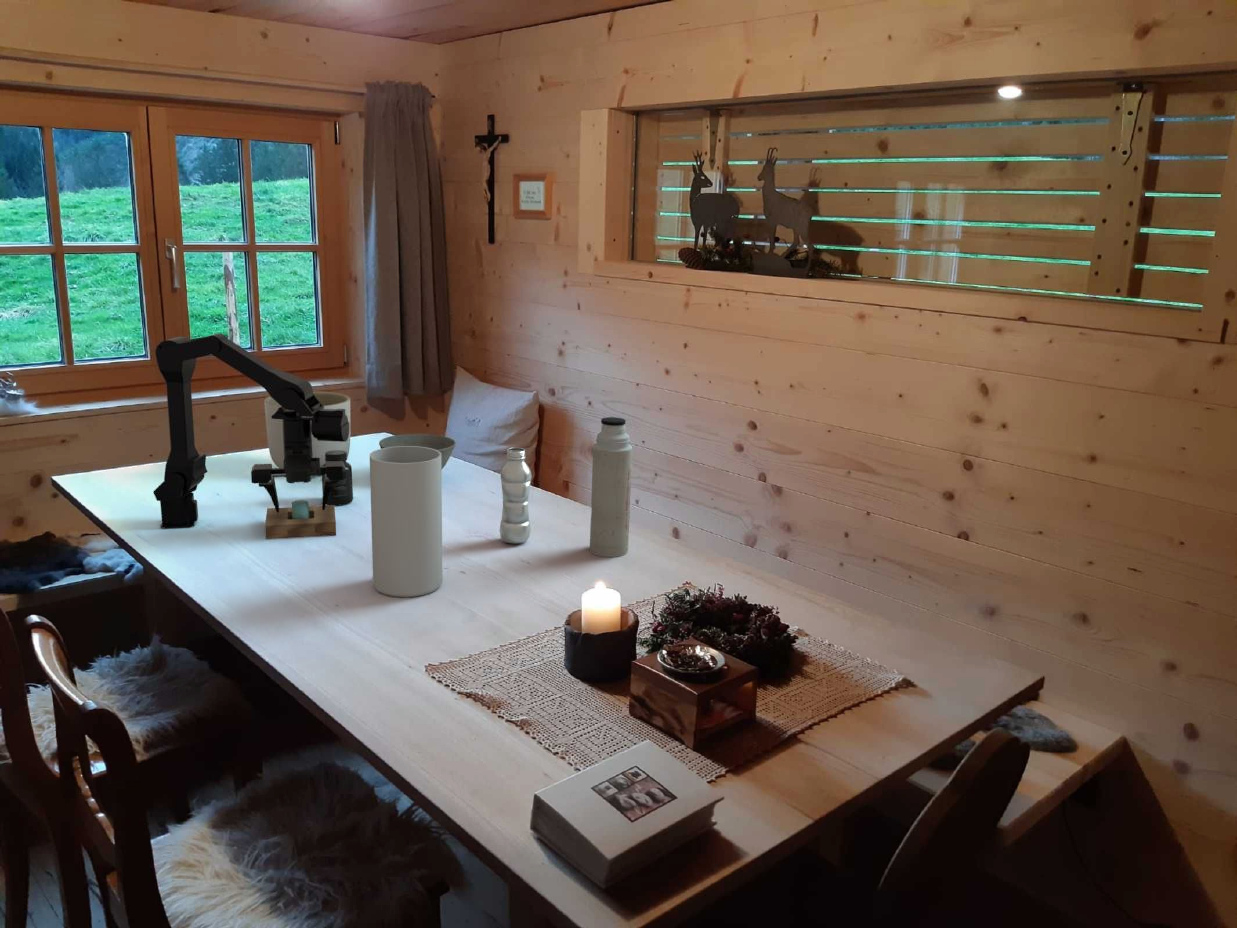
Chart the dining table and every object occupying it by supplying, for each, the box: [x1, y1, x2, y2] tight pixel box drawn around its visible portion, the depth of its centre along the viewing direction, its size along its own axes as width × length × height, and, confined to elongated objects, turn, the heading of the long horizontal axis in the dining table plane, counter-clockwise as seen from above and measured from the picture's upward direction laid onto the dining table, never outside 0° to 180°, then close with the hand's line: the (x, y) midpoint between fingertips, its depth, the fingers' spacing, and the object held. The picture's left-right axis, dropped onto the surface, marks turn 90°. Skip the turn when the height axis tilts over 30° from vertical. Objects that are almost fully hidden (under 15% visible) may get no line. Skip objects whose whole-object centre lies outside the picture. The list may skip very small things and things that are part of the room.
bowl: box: [378, 433, 457, 470], centre depth 246 cm, size 19×19×10 cm
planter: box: [264, 390, 351, 477], centre depth 249 cm, size 21×21×19 cm
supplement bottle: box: [321, 450, 354, 507], centre depth 225 cm, size 7×7×12 cm
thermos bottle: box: [589, 416, 633, 558], centre depth 198 cm, size 8×8×28 cm
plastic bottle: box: [499, 447, 532, 544], centre depth 202 cm, size 6×7×20 cm
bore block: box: [264, 504, 337, 540], centre depth 208 cm, size 14×12×3 cm
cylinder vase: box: [369, 446, 443, 598], centre depth 176 cm, size 12×12×25 cm
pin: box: [291, 499, 309, 519], centre depth 207 cm, size 3×3×5 cm
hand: (300, 510), depth 207 cm, fingers open, 9 cm apart
